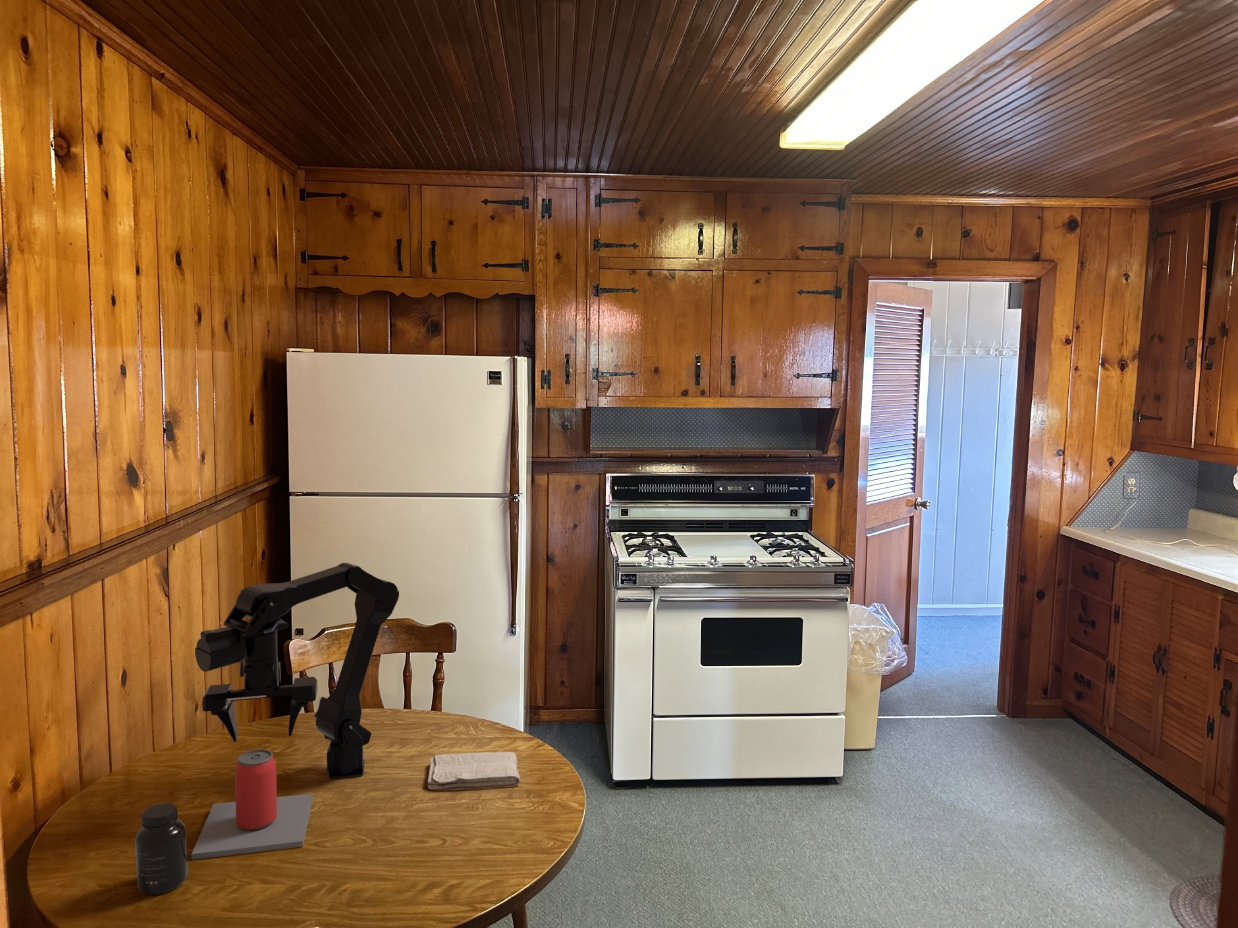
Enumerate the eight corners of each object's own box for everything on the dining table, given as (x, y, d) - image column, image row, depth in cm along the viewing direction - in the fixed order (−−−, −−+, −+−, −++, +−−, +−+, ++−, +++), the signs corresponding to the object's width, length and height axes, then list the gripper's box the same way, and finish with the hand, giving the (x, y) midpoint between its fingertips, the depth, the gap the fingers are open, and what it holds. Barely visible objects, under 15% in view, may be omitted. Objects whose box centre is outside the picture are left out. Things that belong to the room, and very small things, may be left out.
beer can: (284, 813, 144) (283, 748, 143) (264, 833, 137) (263, 766, 136) (249, 810, 145) (248, 746, 143) (228, 830, 138) (226, 763, 137)
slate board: (312, 798, 151) (312, 793, 151) (302, 846, 136) (302, 840, 135) (213, 808, 146) (213, 803, 146) (191, 859, 131) (191, 853, 131)
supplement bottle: (150, 869, 128) (148, 798, 127) (195, 868, 129) (193, 797, 127) (128, 897, 121) (125, 822, 120) (175, 896, 122) (172, 821, 121)
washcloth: (429, 765, 166) (429, 751, 166) (516, 760, 169) (517, 746, 169) (426, 794, 154) (426, 779, 154) (520, 788, 158) (520, 773, 157)
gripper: (318, 637, 156) (320, 714, 157) (212, 645, 150) (215, 725, 152) (314, 657, 145) (316, 739, 147) (199, 666, 140) (203, 751, 142)
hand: (263, 738), depth 147 cm, fingers open, 9 cm apart
